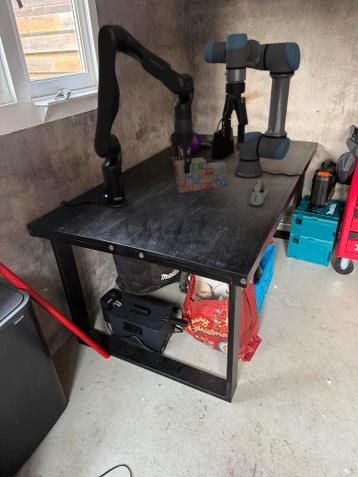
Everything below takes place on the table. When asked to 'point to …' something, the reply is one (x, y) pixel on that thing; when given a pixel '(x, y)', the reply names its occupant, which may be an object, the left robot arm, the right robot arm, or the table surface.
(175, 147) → the boot
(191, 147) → the decorative orb
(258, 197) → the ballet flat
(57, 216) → the table surface
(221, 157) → the handbag
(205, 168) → the stack of blocks
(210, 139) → the pair of gloves
